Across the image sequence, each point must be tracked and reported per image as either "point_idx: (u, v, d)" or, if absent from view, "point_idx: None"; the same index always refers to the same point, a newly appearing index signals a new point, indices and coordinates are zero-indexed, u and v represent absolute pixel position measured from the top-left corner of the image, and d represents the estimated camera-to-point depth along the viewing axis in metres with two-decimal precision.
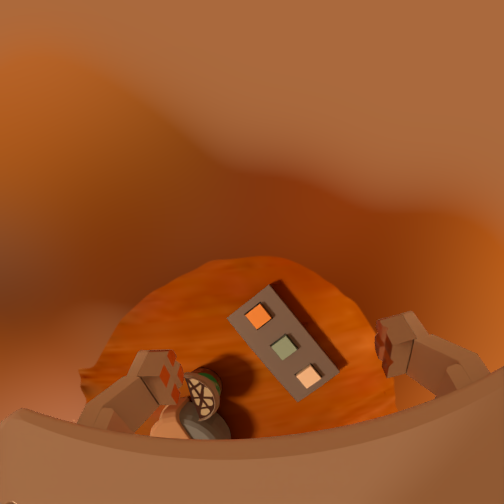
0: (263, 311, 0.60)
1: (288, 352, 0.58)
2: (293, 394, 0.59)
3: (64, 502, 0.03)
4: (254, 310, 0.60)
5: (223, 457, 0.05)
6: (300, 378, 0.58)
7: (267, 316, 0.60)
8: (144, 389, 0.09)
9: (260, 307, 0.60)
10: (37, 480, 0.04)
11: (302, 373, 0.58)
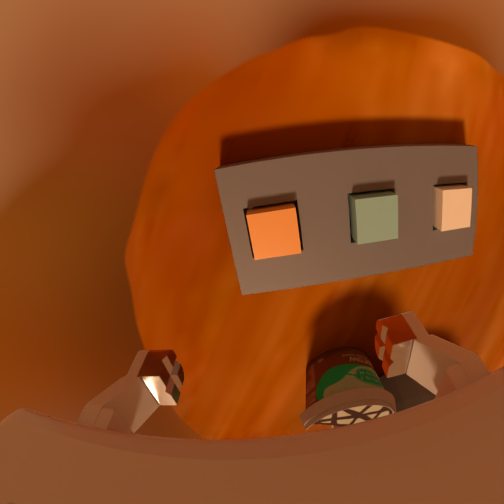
0: (268, 216, 0.23)
1: (391, 216, 0.22)
2: (458, 254, 0.24)
3: (64, 502, 0.03)
4: (255, 234, 0.23)
5: (223, 457, 0.05)
6: (449, 225, 0.22)
7: (285, 213, 0.23)
8: (144, 389, 0.09)
9: (255, 217, 0.23)
10: (37, 480, 0.04)
11: (444, 215, 0.22)
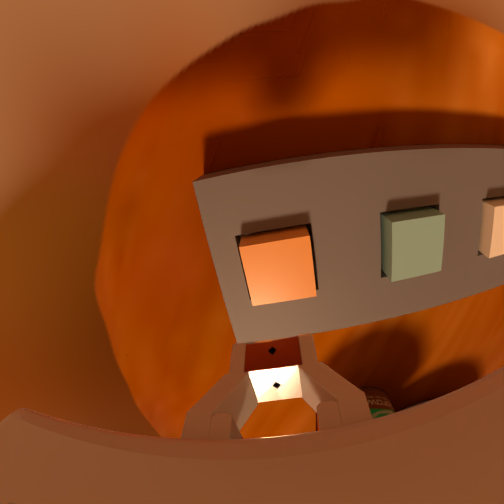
0: (271, 248, 0.16)
1: (435, 242, 0.15)
2: (500, 281, 0.17)
3: (64, 502, 0.03)
4: (252, 273, 0.17)
5: (223, 457, 0.05)
6: (497, 250, 0.15)
7: (295, 244, 0.16)
8: (250, 386, 0.09)
9: (252, 250, 0.16)
10: (37, 480, 0.04)
11: (493, 238, 0.15)
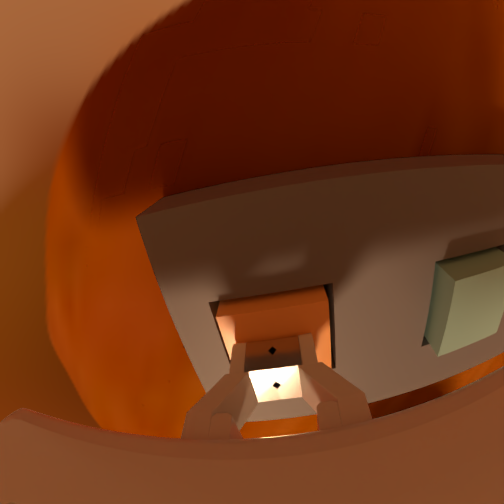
0: (267, 318, 0.10)
1: (499, 300, 0.09)
2: None
3: (64, 502, 0.03)
4: None
5: (223, 457, 0.05)
6: None
7: (305, 313, 0.10)
8: (250, 386, 0.09)
9: (237, 322, 0.10)
10: (37, 480, 0.04)
11: None
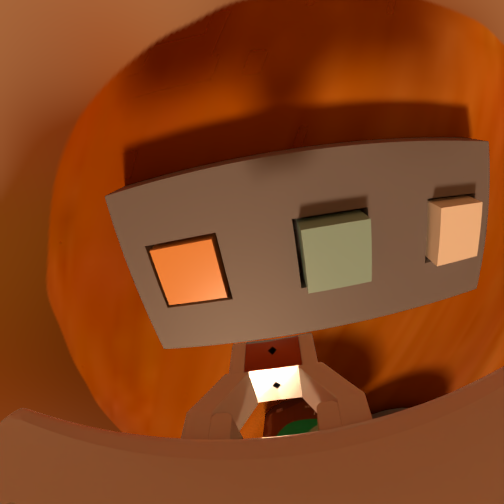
0: (177, 251, 0.17)
1: (361, 251, 0.15)
2: (459, 289, 0.18)
3: (64, 502, 0.03)
4: (164, 274, 0.17)
5: (223, 457, 0.05)
6: (448, 257, 0.15)
7: (199, 247, 0.16)
8: (250, 386, 0.09)
9: (161, 253, 0.17)
10: (37, 480, 0.04)
11: (442, 244, 0.15)
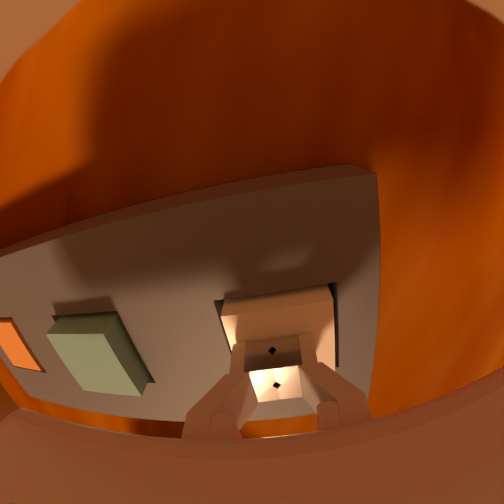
0: None
1: (110, 365, 0.11)
2: None
3: (64, 502, 0.03)
4: (0, 342, 0.13)
5: (223, 457, 0.05)
6: None
7: (7, 327, 0.12)
8: (250, 386, 0.09)
9: None
10: (37, 480, 0.04)
11: None
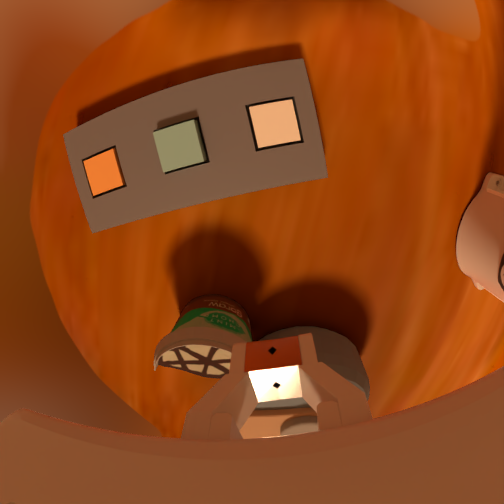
0: (96, 159, 0.25)
1: (191, 140, 0.23)
2: (304, 176, 0.26)
3: (64, 502, 0.03)
4: (90, 175, 0.26)
5: (223, 457, 0.05)
6: (267, 141, 0.25)
7: (107, 154, 0.25)
8: (250, 386, 0.09)
9: (89, 162, 0.25)
10: (37, 480, 0.04)
11: (257, 131, 0.24)
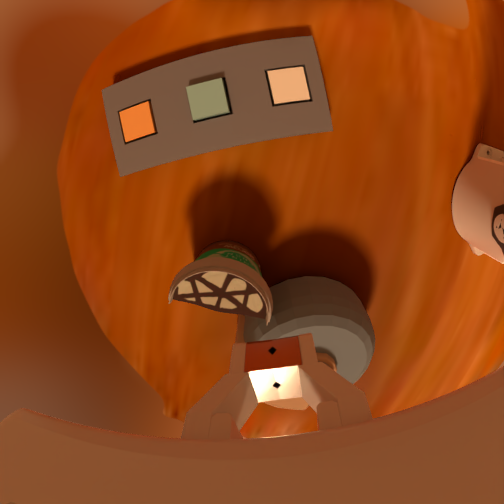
0: (132, 110, 0.28)
1: (218, 94, 0.27)
2: (313, 129, 0.29)
3: (64, 502, 0.03)
4: (124, 124, 0.29)
5: (223, 457, 0.05)
6: (282, 98, 0.28)
7: (142, 106, 0.28)
8: (250, 386, 0.09)
9: (124, 112, 0.28)
10: (37, 480, 0.04)
11: (274, 90, 0.27)
